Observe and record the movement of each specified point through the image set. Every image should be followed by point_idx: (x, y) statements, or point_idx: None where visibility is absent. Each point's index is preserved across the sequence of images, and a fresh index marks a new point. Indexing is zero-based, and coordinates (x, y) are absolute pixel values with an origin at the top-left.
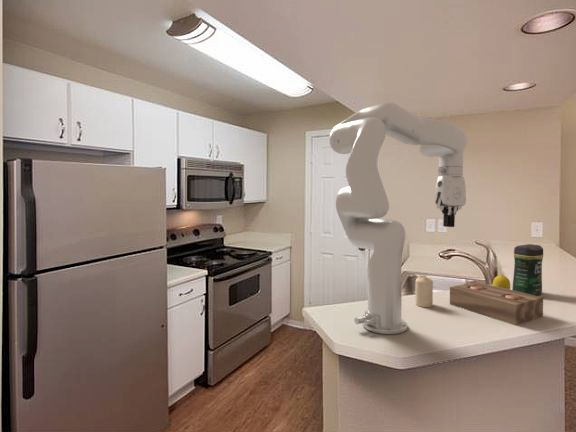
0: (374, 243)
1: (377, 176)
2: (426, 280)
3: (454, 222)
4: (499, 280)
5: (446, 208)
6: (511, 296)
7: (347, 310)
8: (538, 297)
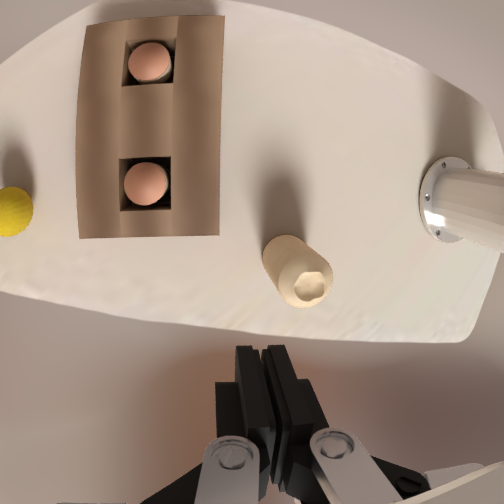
0: None
1: None
2: (320, 263)
3: (239, 368)
4: (13, 207)
5: (407, 489)
6: (148, 64)
7: (437, 304)
8: (97, 29)
